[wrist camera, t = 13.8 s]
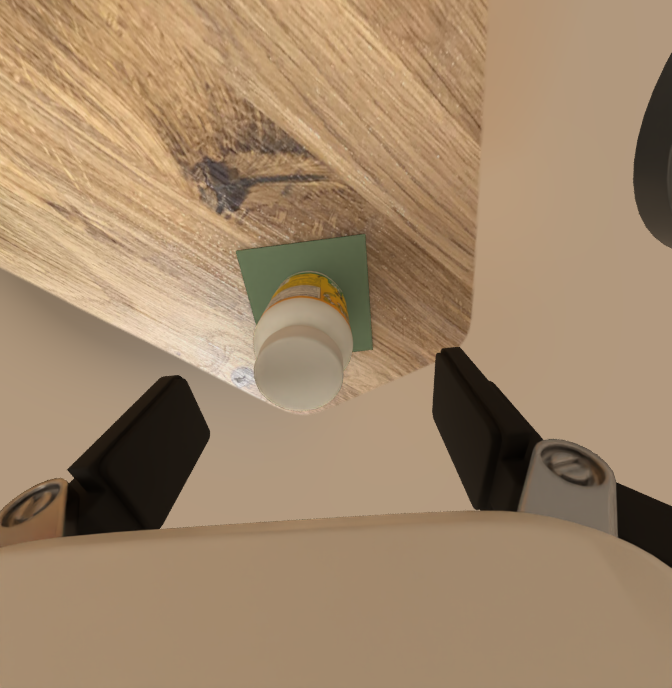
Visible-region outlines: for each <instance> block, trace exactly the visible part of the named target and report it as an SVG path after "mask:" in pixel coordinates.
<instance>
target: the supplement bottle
mask: <svg viewBox="0 0 672 688" xmlns="http://www.w3.org/2000/svg"><path fill="white" fill-rule="evenodd" d="M253 347H254V353H255V356H256V362H255V366H254V378H255V382H256V385H257V387H258V389H259V390H260V392H261V393H262V394H263V396H264V397H265V398H267V399H268V400H269V401H270V402H272V403H273V404H275V405H277V406H279V407H281V408H284V409H288V410H293V411H308V410H314V409H317V408H320V407H322V406H324V405H326V404H327V403H329V402H330V401H331V400H333V399H334V398H335V396H336V395H337V394H338V392H339V391H340V389H341V386H342V383H343V376H344V370H345V369H346V367H347V366H348V364H349V362H350V359H351V356H352V351H353V337H352V333H351V328H350V323H349V317H348V312H347V307H346V302H345V298H344V295H343V293H342V291H341V289H340V288H339V287H338V285H337V284H336V283H335V282H334V281H333V280H332V279H330V278H329V277H328V276H326V275H324V274H322V273H319V272H314V271H304V272H299V273H296V274H293V275H291V276H290V277H288V278H287V279H285V280H284V281H283V282H282V283H281V285H280V286H279V287H278V289H277V291H276V292H275V294H274V295H273V297H272V299H271V301H270V303H269V304H268V306H267V308H266V309H265V311H264V313H263V314H262V316H261V318H260V320H259V322H258V324H257V326H256V329H255V332H254V338H253Z"/></svg>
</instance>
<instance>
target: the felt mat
mask: <svg viewBox="0 0 672 688" xmlns="http://www.w3.org/2000/svg"><path fill="white" fill-rule="evenodd" d="M236 254H237V258H238V262H239V265H240V269H241V272H242V276H243V280H244V283H245V287H246V290H247V294H248V298H249V301H250V305H251V308H252V312H253V316H254V319H255V323H256V326H257V324H258V322H259V320H260V318H261V316H262V314H263V313H264V311H265V309H266V308H267V306H268V304H269V303H270V301H271V299H272V297H273V295H274V294H275V292H276V291H277V289H278V287H279V286H280V285H281V283H282V282H283V281H284V280H285V279H287V278H288V277H290V276H291V275H293V274H296V273H299V272H304V271H314V272H319V273H322V274H324V275H326V276H328V277H329V278H330V279H332V280H333V281H334V282H335V283H336V284H337V285H338V287H339V288H340V289H341V291H342V293H343V295H344V298H345V302H346V307H347V312H348V317H349V323H350V328H351V333H352V337H353V351H352V352H357V351H365V350H373V345H372V330H371V314H370V299H369V284H368V268H367V253H366V237H365V234H359V235H351V236H344V237H336V238H329V239H321V240H313V241H306V242H298V243H291V244H283V245H275V246H268V247H260V248H253V249H245V250H238V251H236Z"/></svg>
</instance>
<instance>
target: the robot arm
mask: <svg viewBox="0 0 672 688" xmlns="http://www.w3.org/2000/svg"><path fill="white" fill-rule="evenodd" d="M432 413H433V418H434V421H435V423H436V426H437V428H438V430H439V432H440V434H441V437H442V439H443V441H444V443H445V446H446V448H447V450H448V452H449V455H450V457H451V459H452V461H453V463H454V465H455V468H456V470H457V473H458V474H459V477H460V479H461V481H462V484H463V486H464V488H465V490H466V493H467V495H468V497H469V499H470V502H471V504H472V506H473V507H474V509H476V510H480V511H447V512H425V513H403V514H402V513H401V514H385V515H369V516H353V517H336V518H319V519H302V520H287V521H273V522H256V523H242V524H228V525H227V524H226V525H211V526H196V527H183V528H169V529H160V528H161V526H162V525H163V523H164V521H165V520H166V518H167V516H168V514H169V512H170V510H171V509H172V506H173V505H174V503H175V501H176V499H177V498H178V496H179V494H180V492H181V490H182V488H183V486H184V484H185V483H186V481H187V479H188V477H189V475H190V474H191V472H192V470H193V468H194V466H195V464H196V462H197V461H198V458H199V457H200V455H201V453H202V451H203V450H204V448H205V446H206V444H207V442H208V440H209V438H210V430H209V428H208V426H207V424H206V421H205V419H204V417H203V415H202V413H201V411H200V408H199V406H198V404H197V402H196V400H195V398H194V395H193V393H192V391H191V389H190V387H189V385H188V383H187V381H186V380H185V379H183V378H182V377H181V376H179V375H174V376H165V377H161V378H160V379H159V380H158V381H157V382H156V383H154V385H153V386H151V387H150V389H148V390H147V391H146V392H145V393H144V394H143V395H142V396H141V397H140V398H139V400H137V401H136V402H135V403H134V404H133V405H132V406H131V407H130V408H129V409H128V410H127V411H126V412H125V413H124V414H123V415H122V416H121V417H120V418H119V419H118V420H117V421H116V422H115V423H114V424H113V425H112V426H111V427H110V428H109V429H108V430H107V431H106V432H105V433H104V434H103V435H102V436H101V437H100V438H99V439H98V440H97V441H96V442H95V443H94V444H93V445H92V446H91V447H90V448H89V449H88V450H87V451H86V452H85V453H84V454H83V455H82V456H81V457H79V458H78V459H77V461H75V462H74V463H73V464H72V466H70V467H69V468H68V469H67V470H68V471H69V472H70V474H71V475H72V476H73V477H74V479H73V480H72V481H71V482H70V483H68V482H67V481H66V480H64V479H62V478H55V479H51V480H47V481H44V482H42V483H39V484H37V485H35V486H33V487H31V488H30V489H28V490H26V491H24V492H23V493H21V494H20V495H19V496H17V497H16V498H14V499H13V500H12V501H11V502H9V503H8V504H7V505H6V506H5V507H4V508H3V509H2V510H1V511H0V688H672V506H670V505H668V504H665V503H663V502H660V501H658V500H656V499H654V498H651V497H649V496H647V495H644V494H642V493H640V492H638V491H635V490H633V489H631V488H628V487H626V486H624V485H621V484H619V483H617V482H616V480H615V476H614V473H613V471H612V470H611V468H610V467H609V466H608V464H607V463H606V462H605V461H604V460H603V459H601V458H600V457H599V456H598V455H597V454H595V453H593V452H592V451H590V450H588V449H587V448H585V447H583V446H580V445H578V444H575V443H573V442H569V441H565V440H559V439H558V440H557V439H548V440H543V439H542V438H541V436H540V435H539V434H538V433H537V432H536V431H535V430H534V428H533V427H532V426H531V425H530V424H529V423H528V422H527V420H526V419H525V418H524V417H523V416H522V415H521V414H520V412H519V411H518V410H517V409H516V408H515V407H514V406H513V405H512V403H511V402H510V401H509V400H508V399H507V397H506V396H505V395H504V394H503V393H502V392H501V391H500V389H499V388H498V387H497V386H496V385H495V384H494V383H493V382H491V381H488V380H487V378H486V377H485V376H484V375H483V374H482V373H481V371H480V370H479V369H478V368H477V367H476V365H475V364H474V363H473V362H472V361H471V360H470V358H469V357H468V356H467V355H466V354H465V353H464V351H463V350H462V349H461V348H460V347H452V348H443V349H442V350H441V353H437V354H436V360H435V376H434V393H433V408H432Z"/></svg>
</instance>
